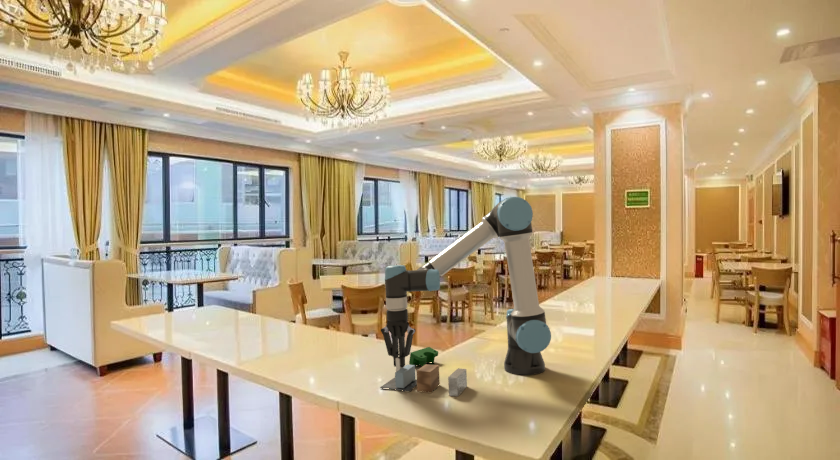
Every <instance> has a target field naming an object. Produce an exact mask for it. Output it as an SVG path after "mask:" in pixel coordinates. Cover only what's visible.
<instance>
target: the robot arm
mask: <svg viewBox="0 0 840 460" xmlns="http://www.w3.org/2000/svg"><path fill="white" fill-rule="evenodd" d="M533 217H534V213H533V208H532V206H531V204H530V203H529V201H527V200H526V199H524V198H523V197H519V196H510V197H506V198H504V199H502V200H501V201H499V202H498V203H497V204H496V205H495V206H494V207H493V208H492V209H490V211H489V212H488V213H487V214H486V215H484V216H483V217H481V222H480V223H477V225H475V226H474V227H472V229H470V230H468V231H467V232H466V233H464V234H463V235H462V236H461V237H459V238H458V239H456V240H455V241H454V242H453V243H451V244H450V245H449V246H447V247H446V248H445V249H443V250H442V251H441V252H440V253H439V254H436V255H435V256H434V257H433V258H432V259H430V260H429V261H427V262H426V263H425V264H424V265H422V266H420V267H419V268H417V269H416V270H415V269H414V270H407V268H406V265H405V264H396V265H395V264H394V265H393V264H392V265H388V266H386V267H385V269H384V287H385V290H384V291H385V308H386V309H387V310H386V311H385V313H386V326H384V327H382V328H381V329H380V332H381V334H382V336H383V339H384V343H385V347H386V350H387V356H391V357H392V358H393V367H395V372H397V371H398V370H400V369H401V368H403V367H404V366H406V357H408V356H410V353H411V348H412V343H413V338H414V334H415V333H416V329H415V328H412V327H411V326H410V323H409V313H408V312H409V311H408V309H407V308H408V293H409V292H410V293H411V292H433V291H434V292H435V291H439V290H440V289H441V277H443V276H444V275H445V274H447V273H448V272H450V271H451V270H452V269H454V268H455V267H456V266H457V265H459V264H460V263H461V262H463V261H465V260H466V259H467V258H468V257H470V255H472V254H474V253H475V252H476V251H477V250H479V249H481V248H482V247H483V246H484V245H486V244H487V243H488V242H490V241H491V240H492V239H498V238H499V239H500V240H502V241H503V242H504V248H505V253H506V261H507V267H508V273H509V275H508V276H509V281H510V288H511V289H510V290H511V293H512V303H513V308H508V309H507V310H506V317H505V319H506V331H507V332H506V333H507V335H506V337H507V352H506V354H505V358H504V361H503V362H504V363H503V365H504V366H503V367H504V368H503V369H504V370H505V371H506V372H508V373H510V374H515V375H525V376H528V375H538V374H541V373H543V372H545V370H546V366H545V365H546V364H545V361H544V358H543V356H542V353H541V352H543V351H544V350H546V349H547V347H549V345H550V343H551V341H552V332H551V330H550V329H551V328H550V327H549V325H547V319H546V313H545V309H543V307H541V306H540V303H539V296H538V295H539V294H538V289H537V284H536V283H537V282H536V276H535V270H534V268H535V267H534V263H533V256H532V250H531V243H530V237H531V236H532V235H533V233H534V232H533V226H532V221H533ZM406 332H407V336H406ZM405 337H406V341H405Z"/></svg>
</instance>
